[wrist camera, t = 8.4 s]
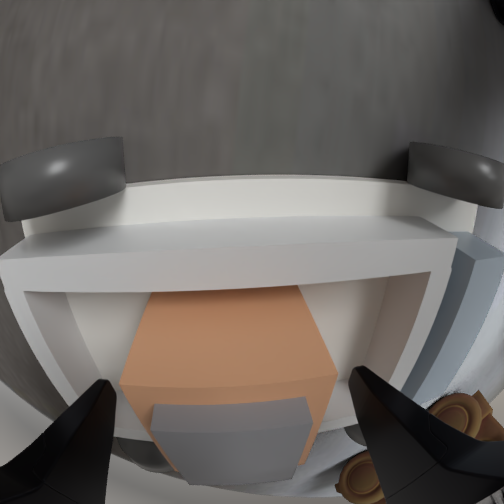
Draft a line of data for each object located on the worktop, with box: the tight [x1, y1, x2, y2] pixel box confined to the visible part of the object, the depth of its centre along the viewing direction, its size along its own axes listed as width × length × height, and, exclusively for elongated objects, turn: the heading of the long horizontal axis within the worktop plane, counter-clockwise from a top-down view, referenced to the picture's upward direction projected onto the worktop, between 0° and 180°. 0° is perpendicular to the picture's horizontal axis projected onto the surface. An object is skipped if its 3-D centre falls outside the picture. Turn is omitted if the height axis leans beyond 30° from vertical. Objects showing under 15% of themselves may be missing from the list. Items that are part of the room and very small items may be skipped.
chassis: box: [0, 137, 504, 473], centre depth 10 cm, size 21×16×4 cm
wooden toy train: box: [335, 390, 504, 504], centre depth 15 cm, size 20×11×17 cm, turn 135°
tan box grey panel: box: [119, 285, 338, 485], centre depth 8 cm, size 5×6×6 cm
